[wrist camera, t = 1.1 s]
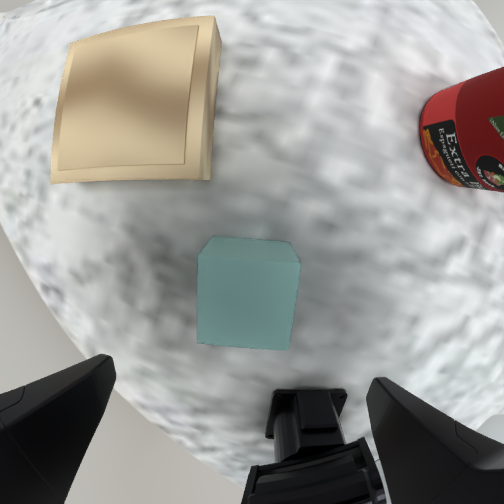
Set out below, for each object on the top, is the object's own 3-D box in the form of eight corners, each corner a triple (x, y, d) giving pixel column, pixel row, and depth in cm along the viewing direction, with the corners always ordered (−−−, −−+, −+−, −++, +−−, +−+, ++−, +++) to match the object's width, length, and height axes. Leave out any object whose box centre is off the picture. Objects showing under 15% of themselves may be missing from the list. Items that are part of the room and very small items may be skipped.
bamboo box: (211, 180, 18) (198, 179, 14) (83, 181, 18) (48, 184, 14) (222, 43, 15) (214, 14, 11) (97, 60, 15) (69, 42, 11)
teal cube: (281, 311, 20) (288, 350, 15) (210, 305, 20) (197, 343, 15) (289, 241, 18) (301, 263, 14) (213, 235, 18) (197, 255, 14)
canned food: (399, 140, 16) (517, 119, 6) (438, 73, 15) (532, 32, 4) (461, 207, 17) (568, 235, 7) (493, 138, 16) (587, 136, 5)
